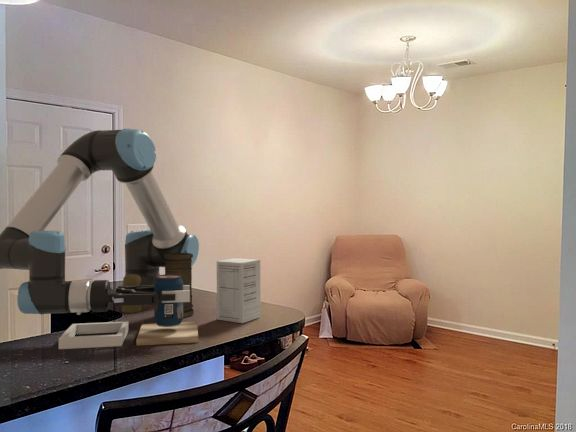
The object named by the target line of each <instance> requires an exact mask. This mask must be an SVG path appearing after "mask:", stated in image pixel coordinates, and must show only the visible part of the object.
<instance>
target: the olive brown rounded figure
mask: <svg viewBox="0 0 576 432" xmlns="http://www.w3.org/2000/svg"><path fill="white" fill-rule="evenodd" d="M122 283H124V285H125V286H139V284H140V283H141V277H140V276H139V275H136V274H130V275H126V276H125V275H124V277H123V278H122ZM142 311H143V305H122V306H121V312H122V313H127V314H128V313H129V314H130V313H131V314H132V313H139V312H142Z"/></svg>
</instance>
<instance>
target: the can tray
mask: <svg viewBox="0 0 576 432" xmlns="http://www.w3.org/2000/svg"><path fill="white" fill-rule="evenodd" d="M129 325H130V324H129V321H128V320H127V321H108V322H85V323H82V322H81V323H71V325H70V326H69V327H68V328H67V329H66V330H65V331H64V332H62V334H61V336H60V337H58V350H69V349H71V350H73V349H74V350H75V349H89V348H91V349H92V348H107V347H109V348H111V347H122V346H123V343H124V341H125V339H126V337H127V335H128V332H129ZM111 333H112V334H111ZM114 333H115V334H114ZM76 334H77V335H79V336H77V335H76ZM90 334H91V335H90ZM93 334H94V335H93ZM95 334H97V335H95ZM99 334H101V335H99ZM75 335H76V336H75Z"/></svg>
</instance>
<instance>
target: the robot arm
mask: <svg viewBox="0 0 576 432" xmlns="http://www.w3.org/2000/svg"><path fill="white" fill-rule="evenodd" d="M156 159H157V154H156V146H155V143H154V141H153V139H152V138H151V136H150V135H149V134H148V133H146V132H145V131H144V130H140V129H137V128H135V129H133V128H122V129H110V130H109V129H108V130H107V129H104V130H102V129H101V130H100V129H99V130H92V131H90V132H87V133H85V134H83V135H82V136H80V137H79V138H77V139H76V140H75V141H73V142H71V144H70V145H68V147H66V149H64V150H63V152H62V153H61V154H60V155H59V157H58V158H57V159H56V160H57V161H56V162H57V165H56V166H55V167H54V168H53V170H52V171H51V172H50V174H49V175H48V176H47V177H46V178H45V180H44V181H43V182H42V183H41V184H40V185H39V187H37V189H36V190H35V192H33V193H32V196H30V198H29V199H28V200H27V201H26V203H25V204H24V205H23V206H22V207H21V208H20V210H18V212H17V213H16V215H14V217H13V218H12V219H11V221H10V222H9V223H8V224H7V226H5V227H4V229H3V230H2V231H1V233H0V270H1V269H2V270H3V269H6V270H7V269H9V270H23V271H29V272H28V274H29V277H28V278H29V279H28V281H24V282H22V283H21V284H20V285H19V287H18V291H17V294H18V295H17V299H16V301H17V302H16V303H17V307H18V310H19V311H20V312H21V313H22V314H24V315H31V314H32V315H49V314H50V315H51V314H52V315H53V314H72V313H76V315H78V316H80V315H82V313H88V312H90V311H92V312H93V313H101V312H102V313H104V312H105V313H106V312H108V311H109V310H110V306H111V304H113V306H114V307H120V306H121V307H122V305H142V306H154V305H158V306H161V301H162V303H173V302H190V285H183V290H180V291H162V294H161V292H154V283H155V281H156V279H157V276H158V275H161V274H160V268H165V260H166V259H165V258H164V254H168V253H191V254H193V258H191V259H192V262H191V267H193V266H194V264H195V263H196V262H197V260H198V257H199V256H198V255H199V250H200V242H199V239H198V237H197V235H195V234H191V233H190V234H189V233H187V230H186V229H185V227H184V226H183V225H182V224H181V223H177V220H176V218H175V216H174V214H173V212H172V210H171V208H170V205H169V204H168V202H167V199H166V197H165V195H164V193H163V191H162V189H161V187H160V185H159V183H158V180H157V178H156V177H155V175H154V173H153V171H154V168H155V163H156ZM99 171H112V173H113V174H114V176H115V178H116V180H117V181H118V182H119V183H122V184H125V186H126V187H127V190H128V191H129V192H130V194H131V196H132V198H133V200H134V202H135V204H136V206H137V207H138V209H139V211H140V213H141V215H142V216H143V218H144V220H145V222H146V225H147V227H148V228H149V230H140V231H132V232H128V233H127V234H126V235H125V240H124V241H125V244H124V258H125V259H124V260H125V261H124V265H125V269H124V271H125V272H124V273H125V275H124V276H126V275H130V274H136V275H139V276H140V277H141V283H140V284H139V286H125V285H124V283H123V282H122V284H121V285H119V286H117V287H116V288H112V287H111V283H110V281H109V280H108V279H102V280H101V279H98V280H97V279H96V280H93V281H91V280H90V279H87V280H85V279H83V280H66V250H67V248H66V243H65V242H66V240H65V234H64V233H63V232H62V231H60V230H46V228H48V225H50V223H51V222H52V221H53V220H54V218H55V217H56V215H57V214H58V213H59V212H60V210H61V209H62V208H63V206H64V205H65V204H66V202H67V201H68V200H69V198H70V197H71V196H72V194H73V193H74V192H75V191H76V189H77V187H78V186H79V185H80V184H81V182H85V181H87V180H89V178H90V177H91V176H92V174H95V173H96V172H99Z"/></svg>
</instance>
